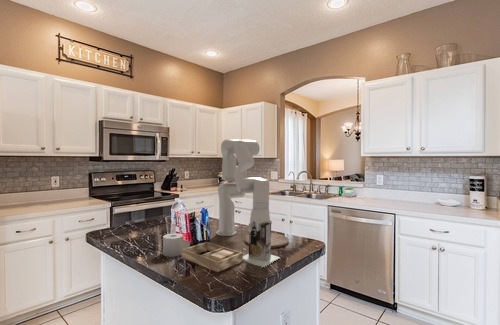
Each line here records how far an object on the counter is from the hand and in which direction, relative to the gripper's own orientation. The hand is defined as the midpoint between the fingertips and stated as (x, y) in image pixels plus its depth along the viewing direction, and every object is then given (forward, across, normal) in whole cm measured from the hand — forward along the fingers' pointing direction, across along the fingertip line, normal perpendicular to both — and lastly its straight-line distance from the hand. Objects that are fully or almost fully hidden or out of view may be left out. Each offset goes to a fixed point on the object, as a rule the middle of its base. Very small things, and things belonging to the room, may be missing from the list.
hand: (260, 241), depth 127 cm
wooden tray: (+8, +15, -16) cm, 24 cm away
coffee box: (+7, 0, 0) cm, 7 cm away
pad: (+8, 0, 0) cm, 8 cm away
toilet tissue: (+9, +21, -36) cm, 42 cm away
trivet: (+9, -25, -14) cm, 30 cm away
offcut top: (+6, +15, -9) cm, 19 cm away
